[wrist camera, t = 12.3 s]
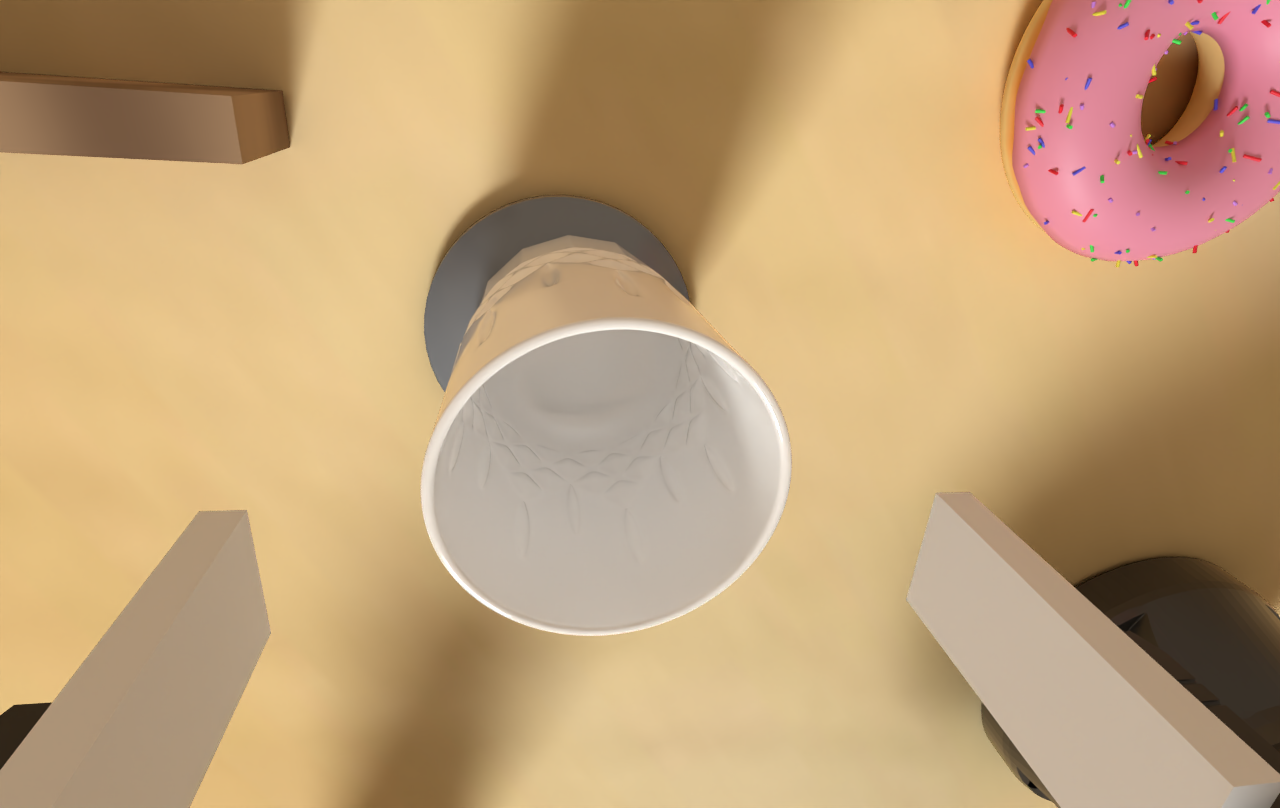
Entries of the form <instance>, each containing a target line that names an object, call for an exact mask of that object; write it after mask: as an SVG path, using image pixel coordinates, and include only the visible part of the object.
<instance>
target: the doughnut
mask: <svg viewBox="0 0 1280 808" xmlns="http://www.w3.org/2000/svg"><path fill="white" fill-rule="evenodd" d="M1188 32H1189V33H1190V34H1191V35H1192V37H1193V38H1194V40H1195V43H1196V46H1197V50H1198V60H1199V62H1198V74H1197V80H1196V84H1195V87H1194V91H1193V93H1192V96H1191V99H1190V101H1189V103H1188V105H1187V107H1186V109H1185V111H1184V112H1183V114H1182V116H1181V117H1180V119H1179V120H1178V122H1177V123H1176V124H1175V126H1174V127H1173V128H1172V129H1171V130H1170V131H1169V132H1168V134H1167V135H1165V136H1164V137H1163V138H1162V139H1161V140H1160V141H1158V142H1157V143H1156V144H1154V145H1151V144H1150V143H1151V141H1152V140H1151V139H1149V138H1150V136H1151V135H1150V134H1147V136H1146V138H1145V139H1144V138H1143V135H1142V131H1141V110H1142V104H1143V99H1144V95H1145V92H1146V88H1147V86H1148V83H1150V82H1153V81H1155V80H1157V77H1154V78H1151V76H1154V75H1157V74H1156V70H1157V68H1156V66H1157V64H1158V62H1159V61H1160V59H1161V57H1162V56H1163V54H1167V53H1168V52H1169V51H1168V50H1167V49H1168V48H1169V46H1170V45H1171V44H1172V43H1175V44H1179V45H1180V43H1181V42H1182V41H1180V40H1177V38H1179V37H1180V36H1181V35H1182V34H1183V35H1186V34H1187V33H1188ZM1150 78H1151V79H1150ZM1000 148H1001V155H1002V161H1003V166H1004V170H1005V174H1006V177H1007V180H1008V183H1009V186H1010V188H1011V190H1012V193H1013V195H1014V197H1015V199H1016V200H1017V202H1018V204H1019V205H1020V207H1021V208H1022V210H1023V211H1024V212H1025V214H1026V215H1027V216H1028V217H1029V218H1030V219H1031V221H1032V222H1033V223H1035V224H1036V225H1037V226H1038V227H1039V228H1040V229H1042V230H1043V231H1044V232H1046V233H1047V234H1048V235H1049V236H1050V237H1051V238H1052V239H1053V240H1054V241H1055V242H1056V243H1058V244H1059V245H1061V246H1062V247H1064V248H1066V249H1068V250H1070V251H1072V252H1074V253H1076V254H1079V255H1082V256H1085V257H1089V258H1092V259H1091V261H1095V260H1097V259H1099V260H1106V261H1117V263H1116V267H1119V265H1120V261H1126V262H1128V263H1129V264H1130V263H1131V262H1132V261H1134V264H1135V266H1138V260H1147V259H1157V260H1159V261H1162V260H1163V259H1162V258H1160V257H1163V256H1168V255H1171V254H1175V253H1178V252H1182V251H1185V250H1187V249H1190V248H1193V253H1196V252H1197V246H1198V245H1201V244H1203V243H1205V242H1207V241H1209V240H1211V239H1213V238H1215V237H1217V236H1219V235H1221V234H1223V233H1225V232H1226V233H1228V232H1229V230H1230V229H1232V228H1233V227H1235V226H1237V225H1238V224H1240V223H1241V222H1243V221H1244V220H1246V219H1247V218H1249V217H1250V216H1251V215H1253V214H1254V213H1255V212H1257V211H1258V210H1259V209H1260V208H1262V207H1263V206H1264V205H1265V204H1266V203H1268V202H1269V201H1270V202H1272V201H1274V199H1273V197H1274V196H1275V195H1276V194H1277V193H1278V192H1279V191H1280V0H1043V1H1042V3H1041V4H1040V6H1039V7H1038V9H1037V11H1036V12H1035V14H1034V16H1033V17H1032V19H1031V21H1030V23H1029V25H1028V26H1027V28H1026V30H1025V32H1024V34H1023V37H1022V39H1021V41H1020V43H1019V45H1018V48H1017V50H1016V53H1015V55H1014V58H1013V61H1012V64H1011V67H1010V70H1009V73H1008V77H1007V80H1006V85H1005V89H1004V94H1003V99H1002V106H1001V115H1000Z"/></svg>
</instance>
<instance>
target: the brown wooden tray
mask: <svg viewBox="0 0 1280 808" xmlns="http://www.w3.org/2000/svg"><path fill="white" fill-rule="evenodd" d="M289 147H290V143H289V136H288V129H287V122H286V115H285V107H284V100H283V93H282V91H276V90H262V89H247V88H232V87H217V86H202V85H187V84H172V83H158V82H143V81H128V80H113V79H98V78H83V77H68V76H53V75H39V74H24V73H9V72H0V152H6V153H27V154H47V155H67V156H88V157H108V158H128V159H149V160H169V161H189V162H209V163H230V164H244V163H247V162H250V161H253V160H255V159H258V158H261V157H264V156H267V155H269V154H272V153H275V152H278V151H281V150H283V149H286V148H289Z"/></svg>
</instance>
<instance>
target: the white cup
mask: <svg viewBox="0 0 1280 808" xmlns="http://www.w3.org/2000/svg"><path fill="white" fill-rule="evenodd" d="M791 471H792V454H791V444H790V438H789V433H788V429H787V426H786V422H785V419H784V416H783V414H782V411H781V409H780V407H779V405H778V403H777V401H776V399H775V397H774V395H773V394H772V392H771V390H770V389H769V387H768V386H767V384H766V383H765V382H764V380H763V379H762V378H761V377H760V375H759V374H758V373H757V372H756V371H755V370H754V369H753V368H752V367H751V366H750V365H749V364H748V363H747V361H746V360H745V359H744V358H743V357H742V356H741V355H740V354H739V353H738V352H737V351H736V350H735V349H734V348H733V347H732V346H731V345H730V344H729V343H728V342H727V341H726V340H725V339H724V338H723V337H722V336H721V334H720V333H719V332H718V331H717V330H716V329H715V328H714V327H713V326H712V325H711V324H710V323H709V322H708V321H707V320H706V319H705V318H704V316H703V315H702V314H701V313H700V312H699V311H698V310H697V309H696V308H695V307H694V306H693V305H692V304H691V303H690V302H689V301H688V300H687V299H686V298H685V297H684V296H683V295H682V294H681V293H680V292H679V291H677V290H676V289H675V288H674V287H673V286H672V285H671V284H670V283H669V282H668V281H666V280H665V279H664V278H663V277H662V276H661V275H659V274H658V273H657V272H656V271H654V270H653V269H652V268H651V267H649V266H648V265H646V264H645V263H644V262H642V261H641V260H639V259H638V258H637V257H635V256H634V255H632V254H631V253H630V252H628V251H627V250H625V249H624V248H622V247H621V246H620V245H618V244H617V243H615V242H611V241H604V240H598V239H592V238H585V237H579V236H573V235H566V236H562V237H559V238H556V239H553V240H549V241H546V242H543V243H539V244H536V245H533V246H529V247H526V248H523V249H521V250H520V251H519V252H518V253H517V254H516V255H515V256H514V257H513V258H512V259H511V260H510V261H509V262H508V263H506V264H505V265H504V266H503V267H502V268H501V269H500V270H499V271H498V272H497V273H496V274H495V275H494V276H493V277H491V278H490V279H489V280H488V282H487V285H486V288H485V290H484V293H483V296H482V299H481V302H480V304H479V307H478V308H477V310H476V311H475V313H474V314H473V316H472V318H471V320H470V322H469V324H468V327H467V330H466V333H465V335H464V337H463V339H462V341H461V343H460V347H459V350H458V353H457V356H456V359H455V363H454V366H453V369H452V372H451V375H450V378H449V381H448V384H447V388H446V391H445V394H444V397H443V401H442V404H441V407H440V410H439V413H438V416H437V419H436V422H435V425H434V428H433V431H432V435H431V438H430V441H429V444H428V447H427V450H426V454H425V458H424V462H423V468H422V475H421V504H422V512H423V517H424V522H425V525H426V529H427V532H428V535H429V538H430V540H431V543H432V545H433V547H434V549H435V551H436V553H437V555H438V557H439V558H440V560H441V562H442V563H443V565H444V566H445V568H446V569H447V570H448V572H449V573H450V574H451V575H452V577H453V578H454V579H455V580H456V581H457V582H458V583H459V584H460V585H461V586H462V587H463V588H464V589H465V590H466V591H467V592H468V593H469V594H470V595H471V596H473V597H474V598H475V599H477V600H478V601H479V602H481V603H482V604H484V605H485V606H487V607H488V608H490V609H491V610H493V611H495V612H497V613H498V614H500V615H502V616H504V617H506V618H509V619H511V620H513V621H515V622H518V623H521V624H523V625H526V626H529V627H533V628H536V629H540V630H544V631H548V632H554V633H560V634H568V635H581V636H599V635H613V634H621V633H627V632H633V631H637V630H642V629H646V628H649V627H653V626H656V625H659V624H662V623H665V622H668V621H670V620H673V619H675V618H678V617H680V616H682V615H684V614H687V613H689V612H691V611H693V610H694V609H696V608H698V607H700V606H702V605H703V604H705V603H706V602H708V601H710V600H711V599H713V598H714V597H716V596H717V595H718V594H720V593H721V592H722V591H724V590H725V589H726V588H727V587H729V586H730V585H731V584H732V583H733V582H735V581H736V580H737V579H738V578H739V577H740V576H741V575H742V574H743V573H744V572H745V571H746V570H747V569H748V568H749V567H750V565H751V564H752V563H753V562H754V561H755V560H756V558H757V557H758V556H759V554H760V553H761V552H762V550H763V549H764V547H765V546H766V544H767V543H768V541H769V540H770V538H771V536H772V534H773V533H774V531H775V529H776V527H777V525H778V523H779V520H780V518H781V515H782V513H783V510H784V507H785V504H786V501H787V497H788V493H789V488H790V481H791Z"/></svg>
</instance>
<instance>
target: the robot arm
mask: <svg viewBox="0 0 1280 808" xmlns="http://www.w3.org/2000/svg"><path fill="white" fill-rule="evenodd" d="M906 600H907V602H908V603H909V604H910V606H911V607H912V608H913V610H914V611H915V612H916V614H917V615H918V616H919V618H920V619H921V620H922V622H923V623H924V624H925V626H926V627H927V628H928V630H929V631H930V632H931V634H932V635H933V636H934V638H935V639H936V640H937V642H938V643H939V645H940V646H941V647H942V649H943V650H944V651H945V653H946V654H947V655H948V657H949V658H950V659H951V661H952V662H953V663H954V665H955V666H956V667H957V669H958V670H959V671H960V673H961V674H962V675H963V677H964V678H965V679H966V681H967V682H968V684H969V685H970V686H971V688H972V689H973V690H974V692H975V693H976V694H977V696H978V697H979V698H980V700H981V701H982V711H981V712H982V722H983V727H984V730H985V733H986V735H987V737H988V739H989V740H990V742H991V743H992V745H993V746H994V747H995V749H996V750H997V752H998V753H999V754H1000V756H1001V757H1002V759H1003V760H1004V761H1005V763H1006V764H1007V766H1008V767H1009V768H1010V770H1011V771H1012V772H1013V774H1014V775H1015V776H1016V777H1017V778H1018V779H1019V780H1020V781H1021V782H1022V783H1023V784H1024V785H1025V786H1026V787H1027V788H1029V789H1030V790H1031V791H1033V792H1034V793H1035V794H1037V795H1038V796H1040V797H1042V798H1044V799H1046V800H1049V801H1052V802H1053V803H1054V804H1055V805H1056V806H1057V807H1058V808H1280V617H1279V615H1278V614H1277V613H1276V611H1275V610H1274V609H1273V608H1272V607H1271V606H1270V605H1269V604H1268V603H1267V602H1266V601H1265V600H1264V599H1263V598H1262V597H1261V596H1259V595H1258V594H1257V593H1256V592H1254V591H1253V590H1251V589H1250V588H1248V587H1247V586H1246V585H1244V584H1243V583H1241V582H1240V581H1239V580H1237V579H1236V578H1234V577H1233V576H1232V575H1230V574H1229V573H1227V572H1226V571H1225V570H1223V569H1221V568H1220V567H1218V566H1216V565H1214V564H1212V563H1209V562H1206V561H1203V560H1199V559H1194V558H1185V557H1166V558H1157V559H1150V560H1145V561H1141V562H1136V563H1133V564H1129V565H1126V566H1123V567H1120V568H1117V569H1114V570H1112V571H1109V572H1107V573H1104V574H1102V575H1100V576H1098V577H1095V578H1093V579H1091V580H1089V581H1087V582H1085V583H1084V584H1082V585H1080V586H1078V587H1076V588H1075V587H1073V586H1072V585H1071V584H1070V583H1069V582H1068V581H1067V580H1066V579H1065V578H1064V577H1063V576H1061V575H1060V574H1059V573H1058V572H1057V571H1056V570H1055V569H1054V568H1053V567H1052V566H1050V565H1049V564H1048V563H1047V562H1046V561H1045V560H1044V559H1043V558H1042V557H1041V556H1039V555H1038V554H1037V553H1036V552H1035V551H1034V550H1033V549H1032V548H1031V547H1030V546H1028V545H1027V544H1026V543H1025V542H1024V541H1023V540H1022V539H1021V538H1020V537H1019V536H1017V535H1016V534H1015V533H1014V532H1013V531H1012V530H1011V529H1010V528H1009V527H1008V526H1006V525H1005V524H1004V523H1003V522H1002V521H1001V520H1000V519H999V518H998V517H997V516H995V515H994V514H993V513H992V512H991V511H990V510H989V509H988V508H987V507H986V506H985V505H983V504H982V503H981V502H980V501H979V500H978V499H977V498H976V497H975V496H974V495H972V494H971V493H970V492H955V493H936V495H935V498H934V502H933V505H932V509H931V513H930V516H929V520H928V523H927V527H926V530H925V534H924V538H923V541H922V545H921V548H920V552H919V555H918V559H917V562H916V566H915V570H914V573H913V577H912V580H911V584H910V587H909V591H908V595H907V598H906ZM270 634H271V631H270V626H269V620H268V615H267V610H266V605H265V600H264V595H263V590H262V585H261V580H260V574H259V569H258V564H257V559H256V554H255V549H254V544H253V539H252V534H251V528H250V523H249V518H248V513H247V510H232V511H199V512H198V513H197V515H196V516H195V517H194V519H193V520H192V521H191V522H190V524H189V525H188V526H187V528H186V529H185V530H184V532H183V533H182V534H181V535H180V537H179V538H178V539H177V541H176V542H175V543H174V545H173V546H172V547H171V549H170V550H169V551H168V552H167V554H166V555H165V556H164V558H163V559H162V560H161V562H160V563H159V564H158V565H157V567H156V568H155V569H154V571H153V572H152V573H151V575H150V576H149V577H148V578H147V580H146V581H145V582H144V584H143V585H142V586H141V588H140V589H139V590H138V591H137V593H136V594H135V595H134V597H133V598H132V599H131V601H130V602H129V603H128V605H127V606H126V607H125V608H124V610H123V611H122V612H121V614H120V615H119V616H118V618H117V619H116V620H115V621H114V623H113V624H112V625H111V627H110V628H109V629H108V631H107V632H106V633H105V634H104V636H103V637H102V638H101V640H100V641H99V642H98V644H97V645H96V646H95V647H94V649H93V650H92V651H91V653H90V654H89V655H88V657H87V658H86V659H85V661H84V662H83V663H82V664H81V666H80V667H79V668H78V670H77V671H76V672H75V674H74V675H73V676H72V677H71V679H70V680H69V681H68V683H67V684H66V685H65V687H64V688H63V689H62V690H61V692H60V693H59V694H58V696H57V697H56V698H55V700H54V701H53V702H52V703H38V704H22V705H14V706H12V707H11V708H10V709H8V710H7V711H6V712H4V713H3V714H2V715H0V808H190V806H191V803H192V801H193V799H194V797H195V795H196V793H197V790H198V788H199V786H200V784H201V782H202V780H203V778H204V775H205V773H206V771H207V769H208V767H209V765H210V763H211V760H212V758H213V756H214V754H215V752H216V750H217V747H218V745H219V743H220V741H221V739H222V737H223V735H224V732H225V730H226V728H227V726H228V724H229V722H230V720H231V717H232V715H233V713H234V711H235V709H236V707H237V705H238V702H239V700H240V698H241V696H242V694H243V692H244V689H245V687H246V685H247V683H248V681H249V679H250V677H251V674H252V672H253V670H254V668H255V666H256V664H257V662H258V659H259V657H260V655H261V653H262V651H263V649H264V646H265V644H266V642H267V640H268V638H269V636H270Z"/></svg>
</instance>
